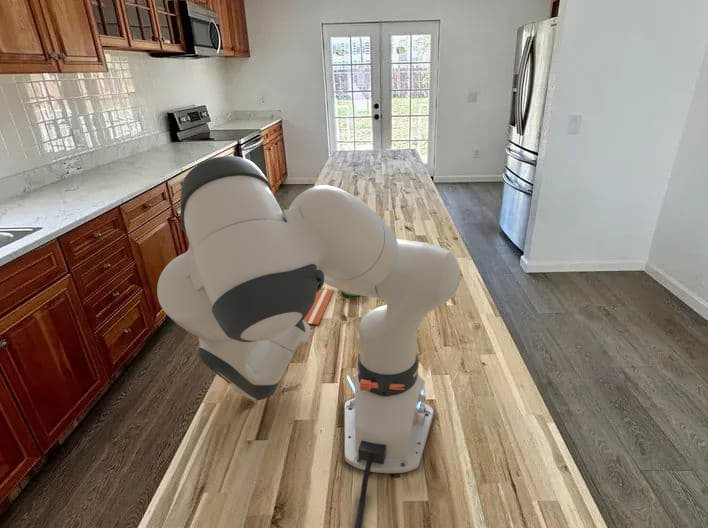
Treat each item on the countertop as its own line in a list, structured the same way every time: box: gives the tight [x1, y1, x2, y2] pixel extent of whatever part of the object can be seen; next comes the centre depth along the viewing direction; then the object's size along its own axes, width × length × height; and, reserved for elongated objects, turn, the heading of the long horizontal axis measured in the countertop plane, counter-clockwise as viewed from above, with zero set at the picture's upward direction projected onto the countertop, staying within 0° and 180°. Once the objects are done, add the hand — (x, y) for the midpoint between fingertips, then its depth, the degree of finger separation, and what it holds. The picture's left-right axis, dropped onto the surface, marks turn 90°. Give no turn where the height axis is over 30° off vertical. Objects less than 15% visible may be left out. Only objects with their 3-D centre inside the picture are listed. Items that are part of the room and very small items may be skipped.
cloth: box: [303, 288, 334, 326], centre depth 132 cm, size 20×14×1 cm
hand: (276, 335), depth 108 cm, fingers closed
